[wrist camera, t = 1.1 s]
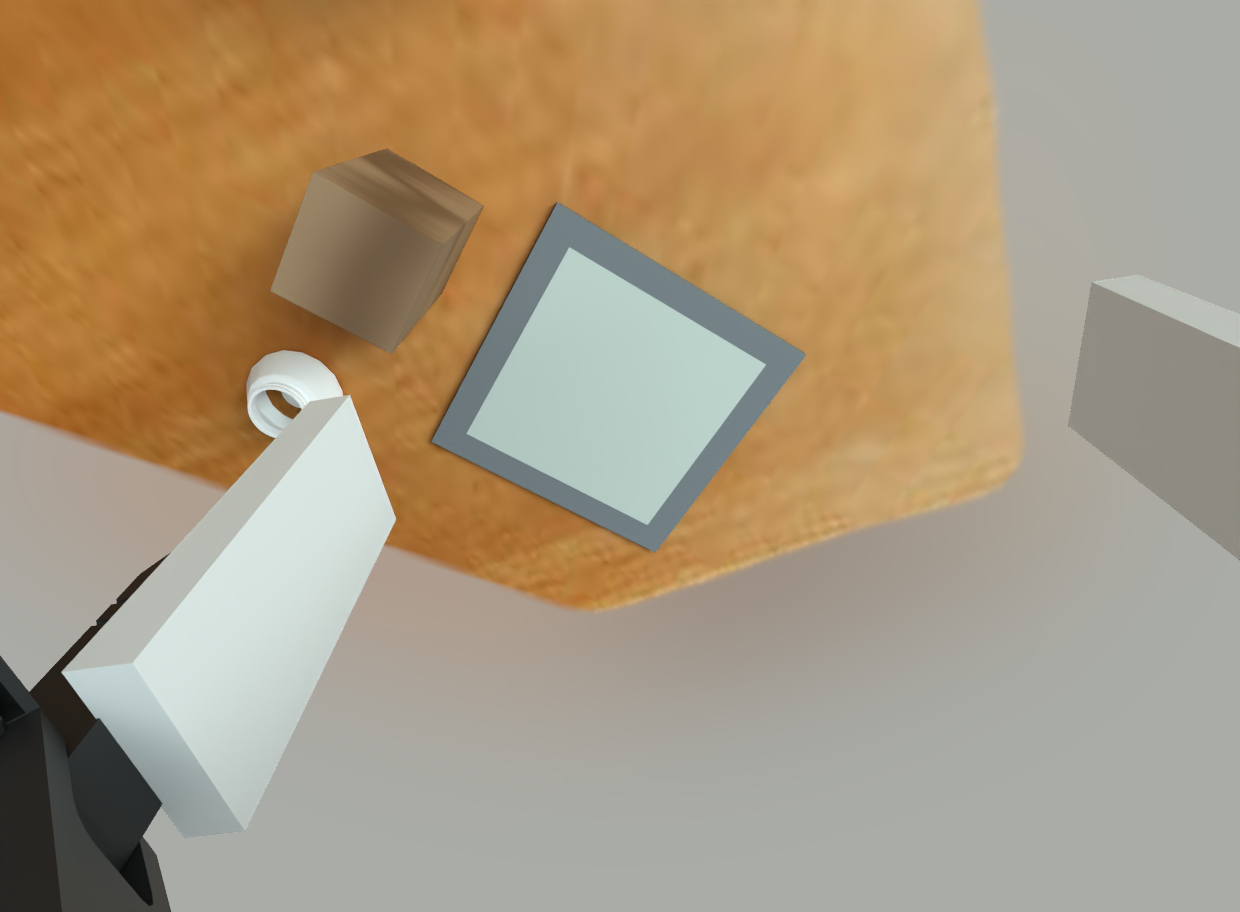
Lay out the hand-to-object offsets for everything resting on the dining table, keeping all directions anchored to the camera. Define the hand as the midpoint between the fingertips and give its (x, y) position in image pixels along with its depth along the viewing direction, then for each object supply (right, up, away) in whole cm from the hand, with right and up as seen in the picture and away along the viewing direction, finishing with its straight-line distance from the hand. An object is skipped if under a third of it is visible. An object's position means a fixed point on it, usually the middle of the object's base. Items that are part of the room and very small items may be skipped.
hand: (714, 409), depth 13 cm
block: (-12, +11, +22) cm, 27 cm away
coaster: (-2, +2, +26) cm, 26 cm away
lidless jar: (-19, +3, +27) cm, 33 cm away
